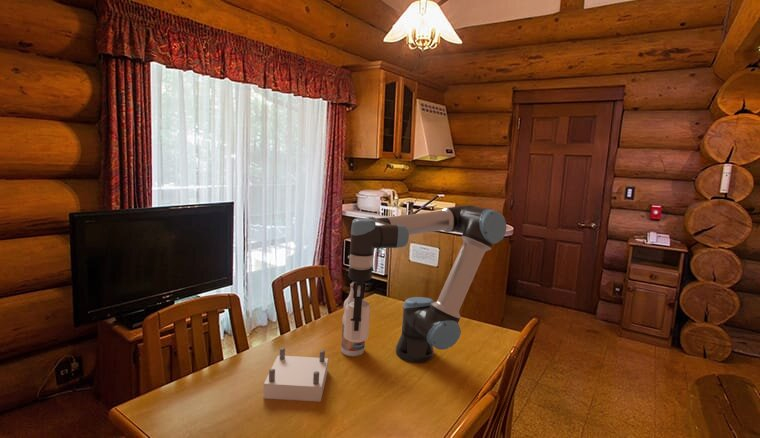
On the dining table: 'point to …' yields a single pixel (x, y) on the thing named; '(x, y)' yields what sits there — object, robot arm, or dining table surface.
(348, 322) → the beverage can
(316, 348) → the dining table surface
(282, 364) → the peg stand
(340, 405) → the dining table surface
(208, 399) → the dining table surface
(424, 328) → the robot arm
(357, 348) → the fruit juice
